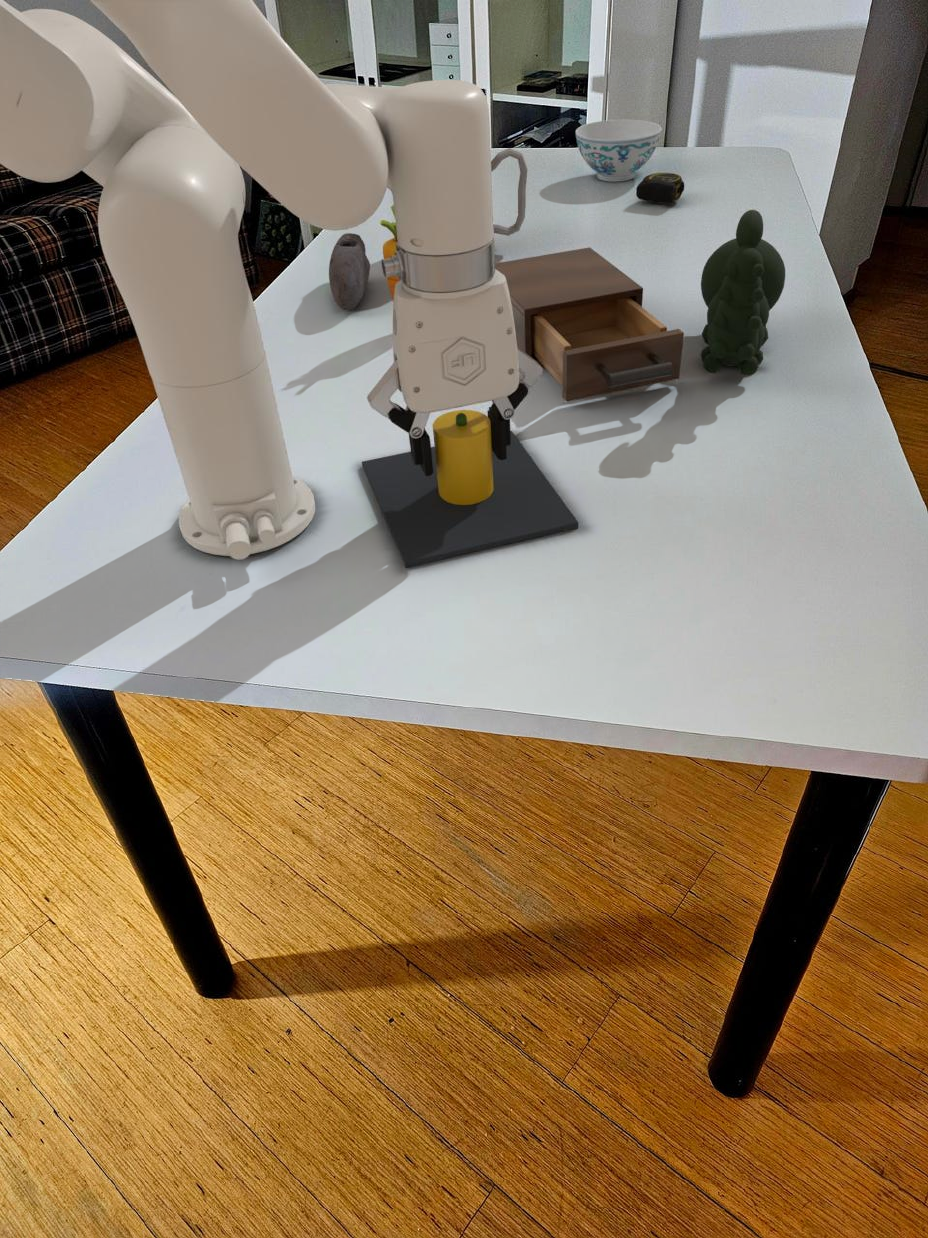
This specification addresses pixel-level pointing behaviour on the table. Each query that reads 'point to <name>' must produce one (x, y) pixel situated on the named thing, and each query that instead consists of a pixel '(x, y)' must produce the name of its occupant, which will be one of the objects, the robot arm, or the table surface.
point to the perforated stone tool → (348, 271)
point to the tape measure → (660, 188)
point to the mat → (465, 507)
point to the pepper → (463, 456)
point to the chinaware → (617, 146)
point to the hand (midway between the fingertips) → (461, 459)
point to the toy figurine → (740, 297)
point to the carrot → (390, 251)
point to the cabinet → (561, 286)
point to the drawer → (605, 348)
